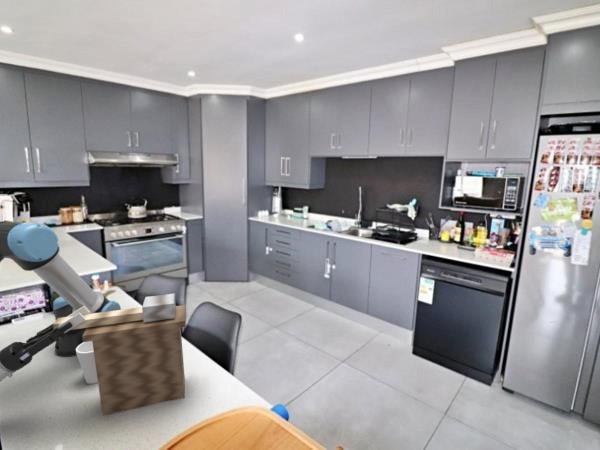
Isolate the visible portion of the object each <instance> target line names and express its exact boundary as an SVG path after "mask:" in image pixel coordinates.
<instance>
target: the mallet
mask: <svg viewBox="0 0 600 450" xmlns="http://www.w3.org/2000/svg"><path fill="white" fill-rule="evenodd" d="M175 294H176V293H167V294H159V295H151V296H150V295H149V296H144V297H145V298H144V300H143V304H142V306H140V307H132V308H125V309H121V310H116V311H108V312H100V313H93V314H85V315H83V316H84V317H85V318H86V320H85V321H83V322H82V323H80V324H78V325H77V326H75V327H74V328H72V329H71V330H74V329H81V328H88V327H95V326H102V325H109V324H116V323H123V322H130V321H137V320H144V322H151V321H158V320H165V319H172V318H175V311H176V306H177V305H176V295H175ZM72 317H73V316H70V317H62V318H58V319H57V320H54V322H53V323H54V324H53V323H52V324H53V328H54V329H56V328H58V329H59V327H58V326H59V325H61V324H62V323H64V322H65V321H67V320H68V319H70V318H72Z"/></svg>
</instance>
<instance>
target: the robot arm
mask: <svg viewBox="0 0 600 450" xmlns="http://www.w3.org/2000/svg"><path fill="white" fill-rule="evenodd" d="M58 242H59V238H58V236H57V234H56V232H55V231H54V230H53V229H52V228H50V226H47V225H45V224H40V223H38V222H19V221H10V220H2V221H1V220H0V263H1V262H2V261H3V260H4V259H10V260H12V261H13V262H14V263H16V264H17V265H18V266H19V268H21V269H22V270H23V271H25V272H32V271H33V273H35V274H36V275H37V276H38V277H39V278H40V279H41V280H43V281H44V283H45V284H47V286H49V288H51V289H52V290H53V291H54V292H56V293H58V294H59V295H60V296H61V297H58V298H57V299H56V300H55V301H54V302H53V309H52V310H53V314H54V318H55V320H54V321H56V320H57V319H58V318H62V317H70V316H73V317H72V318H70V319H68V320H67V321H65V322H64V323H62V324H61V325H59V326H58V327H59V329H58V328H56V329H54V328H53V324H54V322H53V323H52V324H50V325H49V326H46V327H45V328H43V329H41V330H39V331H37V333H36V334H35V335H33V336H31V337H30V338H27V340H26V341H25V342H21V341H14V342H11V343H10V344H8V345H7V346H5V347H4V348H2V349H1V350H0V382H2V381H3V380H5V379H7V377H8V378H12V377H13V374H14V373H15V372H17V371H19V370H21V369H22V368H24V367H25V366H27V365H29V364H30V363H31V362H32V360H33V357H34V356H35V355H37V354H38V353H40V352H42V351H43V350H44V349H46V348H48V347H49V346H50V345H52V344H54V343H55V344H54V351H55V352H54V353H55V354H56V355H57V356H59V357H74V356H77V354H76V348H77V347H78V345H80V344H81V343H83V337H82V336H83V334H84V332H85V331H86V329H87V328H81V329H74V330H71V329H72V328H74V327H75V326H77V325H78V324H80V323H82V322H83V321H85V320H86V318H85V317H84V316H83V315H85V314H93V313H100V312H108V311H116V310H122V307H121V305H120V303H119V302H117V301H115V300H109V299H108V298H107V297H106V296H105V295H104V293H102V292H101V291H96V290H95V291H94V290H93V289H92V288H91V286H89V284H88V283H87V282H86V281H85V280H84V279H83V278H82V277H81V276H80V275H79V274H78V273H77V271H75V270H74V268H73V267H71V266H70V264H69V263H68V262H67V261H66V260H65V259H64V258H63V257H62V256H61V255H60V251H61V250H60V246H59V243H58Z"/></svg>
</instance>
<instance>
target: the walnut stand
mask: <svg viewBox="0 0 600 450" xmlns="http://www.w3.org/2000/svg"><path fill="white" fill-rule="evenodd" d="M186 311H187V309H186V304H182V305H176V311H175V318H172V319H165V320H158V321H151V322H144V320H137V321H130V322H123V323H116V324H109V325H102V326H95V327H88V328H87V329H86V331H85V332H84V334H83V336H82V337H83V342H88V341H92V342H93V349H94V357H95V364H96V371H97V378H98V383H97V384H98V391H99V398H100V399H99V400H100V405H101V413H102V416H105V415H106V416H107V415H111V414H115V413H121V412H125V411H129V410H133V409H139V408H143V407H148V406H152V405H157V404H161V403H165V402H171V401H176V400H179V399H185V393H186V392H185V391H186V390H185V388H186V387H185V382H186V381H185V380H186V379H185V364H184V352H183V341H182V340H183V339H182V328H186V318H187V317H186V316H187V315H186V313H187V312H186Z"/></svg>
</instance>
